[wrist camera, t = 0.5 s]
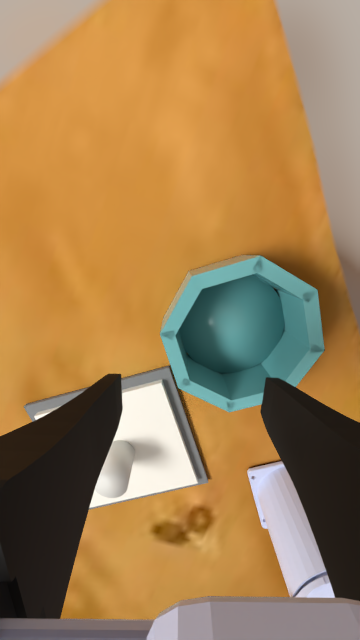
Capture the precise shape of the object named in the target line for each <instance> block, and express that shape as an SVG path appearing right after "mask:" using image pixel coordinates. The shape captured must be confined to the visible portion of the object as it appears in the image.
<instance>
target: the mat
mask: <svg viewBox="0 0 360 640" xmlns="http://www.w3.org/2000/svg"><path fill="white" fill-rule="evenodd" d="M161 379H162V381H163V384H164V387H165V389H166V392H167V395H168V398H169V401H170V403H171V406H172V409H173V412H174V414H175V417H176V420H177V423H178V426H179V428H180V431H181V434H182V437H183V439H184V442H185V445H186V448H187V451H188V453H189V456H190V459H191V462H192V465H193V467H194V470H195V473H196V476H197V479H198V484H193V485H189V486H184V487H180V488H175V489H171V490H167V491H162V492H158V493H153V494H149V495H144V496H140V497H135V498H131V499H127V500H122V501H118V502H113V503H109V504H104V505H100V506H96V507H91V508H89V509H93V508H98V507H102V506H107V505H111V504H116V503H120V502H125V501H129V500H133V499H138V498H142V497H147V496H151V495H156V494H160V493H165V492H169V491H173V490H178V489H182V488H187V487H191V486H196V485H200V484H204V483H208V478H207V475H206V472H205V469H204V466H203V464H202V461H201V458H200V455H199V452H198V449H197V446H196V443H195V440H194V437H193V434H192V431H191V428H190V426H189V423H188V420H187V417H186V414H185V411H184V408H183V405H182V402H181V399H180V396H179V393H178V390H177V388H176V385H175V382H174V379H173V376H172V373H171V370H170V367H169V366H166V367H162V368H158V369H155V370H151V371H147V372H143V373H140V374H136V375H132V376H129V377H125V378H121V385H122V390H124V389H127V388H131V387H135V386H139V385H143V384H146V383H150V382H154V381H158V380H161ZM88 388H89V387H88ZM88 388H84V389H80V390H76V391H73V392H69V393H65V394H62V395H58V396H54V397H50V398H47V399H43V400H39V401H35V402H32V403H28V404H26V405H25V406H24V408H25V410H26V411H27V413H28V415H29V416H30V418H31V420H32V422H33V421H35V420H36V419H35V418H34V416H35V415H36V413H37V412H40V411H44V410H48V409H52V408H56V407H59V406H62V405H64V404H65V403H67V402H68V401H70V400H72V399H73V398H75V397H76V396H78V395H79V394H81V393H82V392H84V391H85V390H86V389H88Z"/></svg>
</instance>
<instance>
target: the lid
mask: <svg viewBox="0 0 360 640" xmlns="http://www.w3.org/2000/svg"><path fill="white" fill-rule="evenodd" d="M122 405H123V410H122V414H121V418H120V422H119V426H118V429H117V432H116V435H115V437H114V440H113V442H112V445H111V447H110V450H109V452H108V455H107V457H106V460H105V462H104V465H103V467H102V470H101V472H100V475H99V478H98V481H97V484H96V486H95V490H94V493H93V497H92V500H91V503H90V507H89V508H91V507H96V506H100V505H104V504H109V503H113V502H118V501H122V500H127V499H131V498H135V497H140V496H144V495H149V494H153V493H158V492H162V491H167V490H171V489H175V488H180V487H184V486H189V485H193V484H198V479H197V476H196V473H195V470H194V467H193V465H192V462H191V459H190V456H189V453H188V451H187V448H186V445H185V442H184V439H183V437H182V434H181V431H180V428H179V426H178V423H177V420H176V417H175V414H174V412H173V409H172V406H171V403H170V401H169V398H168V395H167V392H166V389H165V387H164V384H163V381H162V379H161V380H158V381H154V382H150V383H146V384H143V385H139V386H135V387H131V388H127V389H124V390H122ZM59 407H61V406H59ZM59 407H56V408H52V409H48V410H44V411H40V412H37V413H36V415H35V416H34V418H35V419H36V420H37V419H39V418H41V417H43V416H45V415H47V414H49V413H50V412H52V411H54V410H56V409H57V408H59Z"/></svg>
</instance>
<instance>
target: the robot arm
mask: <svg viewBox="0 0 360 640" xmlns="http://www.w3.org/2000/svg"><path fill="white" fill-rule="evenodd" d="M122 410H123V405H122V385H121V374H107V375H106V376H104V377H103V378H102V379H100V380H99V381H97V382H96V383H95V384H93V385H92V386H91V387H89V388H88V389H86V390H85V391H84V392H82V393H81V394H79V395H78V396H76V397H75V398H73V399H72V400H70V401H68V402H67V403H65V404H64V405H62V406H61V407H59V408H57V409H56V410H54V411H52V412H50V413H49V414H47V415H45V416H43V417H41V418H39V419H37V420H35V421H33V422H31V423H29V424H27V425H25V426H22V427H20V428H18V429H16V430H14V431H12V432H9V433H7V434H5V435H2V436H0V640H360V423H359V422H357V421H355V420H352V419H350V418H348V417H346V416H344V415H343V414H341V413H339V412H337V411H335V410H333V409H331V408H330V407H328V406H326V405H324V404H322V403H321V402H319V401H317V400H316V399H314V398H312V397H311V396H309V395H307V394H306V393H304V392H302V391H301V390H299V389H297V388H296V387H294V386H292V385H291V384H289V383H287V382H286V381H284V380H282V379H280V378H270V377H266V380H265V387H264V393H263V400H262V406H261V415H262V418H263V421H264V424H265V427H266V429H267V432H268V434H269V436H270V438H271V440H272V442H273V444H274V446H275V448H276V450H277V452H278V454H279V456H280V458H281V460H282V461H280V462H276V463H271V464H267V465H262V466H258V467H253V468H250V469H248V471H247V473H248V477H249V481H250V484H251V488H252V492H253V495H254V499H255V503H256V506H257V510H258V514H259V517H260V521H261V525H262V527H263V528H265V529H267V528H268V530H269V533H270V536H271V539H272V542H273V545H274V549H275V552H276V555H277V558H278V561H279V564H280V567H281V570H282V573H283V576H284V579H285V582H286V585H287V589H288V592H289V595H290V597H220V596H208V597H201V598H195V599H188V600H181V601H179V602H178V603H176V604H174V605H172V606H171V607H169V608H167V609H165V610H164V611H162V612H160V614H159V615H158V616H157V618H156V619H155V620H126V619H60V617H61V612H62V608H63V604H64V600H65V596H66V592H67V588H68V584H69V580H70V576H71V573H72V569H73V565H74V561H75V557H76V554H77V550H78V546H79V542H80V539H81V535H82V531H83V528H84V524H85V521H86V517H87V514H88V510H89V507H90V503H91V500H92V497H93V493H94V490H95V486H96V484H97V481H98V478H99V475H100V472H101V470H102V467H103V465H104V462H105V460H106V457H107V455H108V452H109V450H110V447H111V445H112V442H113V440H114V437H115V435H116V432H117V429H118V426H119V422H120V418H121V414H122Z"/></svg>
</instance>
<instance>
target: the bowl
mask: <svg viewBox="0 0 360 640" xmlns="http://www.w3.org/2000/svg"><path fill="white" fill-rule="evenodd" d="M273 288H274V289H276V291H275V290H274V289H273ZM160 336H161V339H162V342H163V344H164V347H165V350H166V353H167V356H168V359H169V362H170V365H171V368H172V371H173V374H174V377H175V380H176V383H177V386H178V388H179V389H181V390H183V391H185V392H187V393H190V394H192V395H194V396H196V397H198V398H200V399H202V400H204V401H206V402H209V403H211V404H213V405H215V406H217V407H219V408H221V409H223V410H226V411H228V412H232V411H236V410H240V409H244V408H248V407H252V406H256V405H260V404H262V400H263V393H264V387H265V380H266V377H270V378H280V379H282V380H284V381H286V382H287V383H289V384H291V385H292V386H294V387H296V386H297V385H298V383H299V382H300V381H301V379H302V378H303V377H304V376H305V374H306V373H307V372H308V371H309V369H310V368H311V367H312V366H313V364H314V363H315V362H316V360H317V359H318V358H319V357H320V355H321V354H322V353H323V352H324V351H325V350H324V341H323V333H322V324H321V316H320V307H319V299H318V290H317V289H315V288H314V287H312V286H310V285H309V284H307V283H305V282H304V281H302V280H300V279H299V278H297V277H295V276H294V275H292V274H290V273H289V272H287V271H285V270H284V269H282V268H280V267H279V266H277V265H275V264H274V263H272V262H270V261H269V260H267V259H265V258H264V257H262V256H260V255H240V256H237V257H234V258H230V259H227V260H224V261H220V262H217V263H214V264H210V265H207V266H204V267H200V268H197V269H194V270H190V271H189V272H188V273H187V275H186V277H185V279H184V281H183V283H182V284H181V286H180V288H179V290H178V292H177V294H176V295H175V297H174V299H173V301H172V303H171V305H170V306H169V308H168V310H167V312H166V314H165V315H164V318H163V322H162V327H161V331H160ZM187 353H188V354H189V355H188V354H187Z"/></svg>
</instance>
